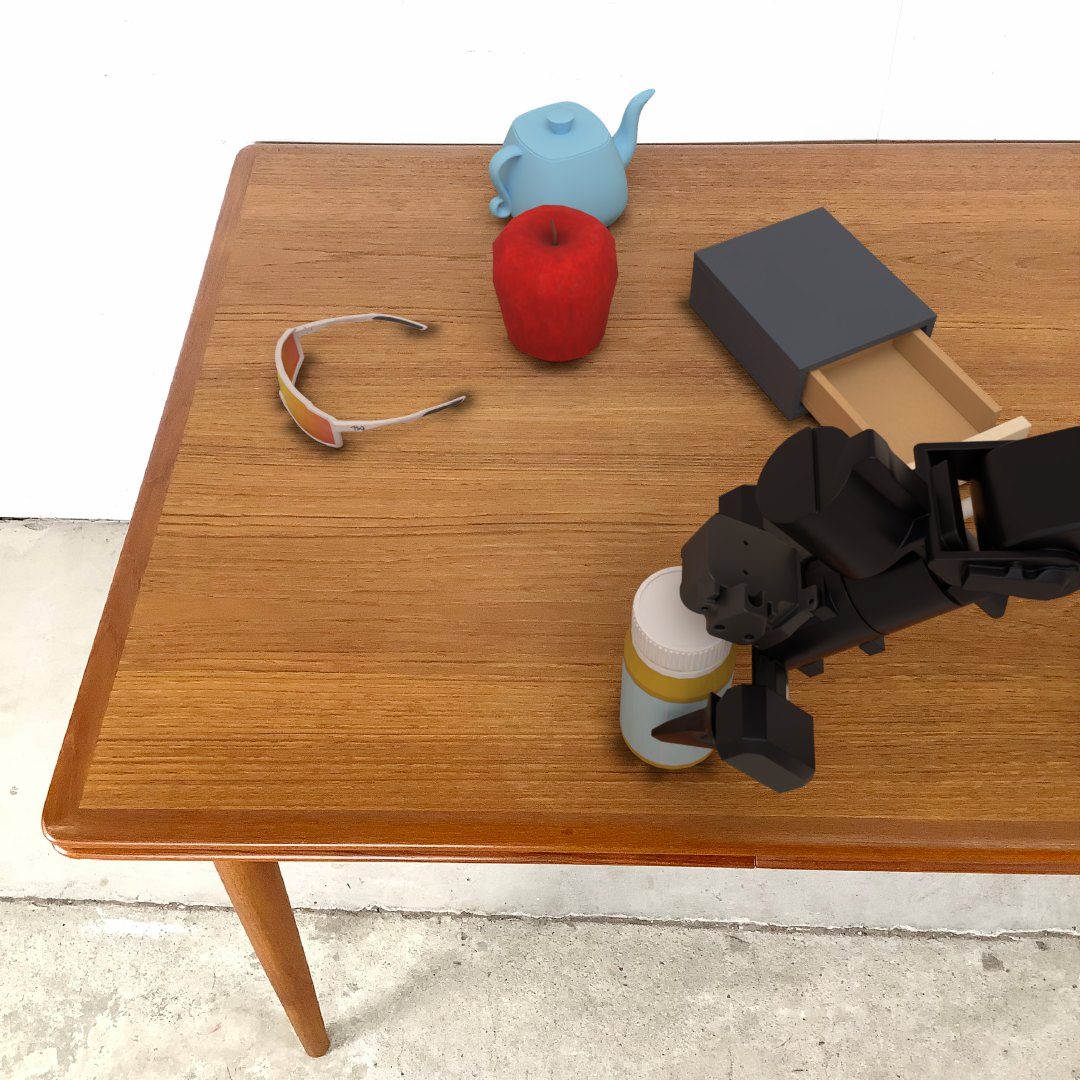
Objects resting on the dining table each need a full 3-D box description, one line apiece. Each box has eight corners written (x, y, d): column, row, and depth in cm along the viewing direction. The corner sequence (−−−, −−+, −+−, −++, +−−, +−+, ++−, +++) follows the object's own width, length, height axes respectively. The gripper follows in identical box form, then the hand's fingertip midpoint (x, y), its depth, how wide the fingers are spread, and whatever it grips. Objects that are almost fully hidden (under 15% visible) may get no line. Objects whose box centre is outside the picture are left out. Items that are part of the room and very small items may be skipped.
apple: (499, 387, 98) (488, 264, 88) (498, 309, 105) (487, 184, 94) (619, 382, 98) (623, 258, 87) (611, 303, 104) (614, 178, 94)
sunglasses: (260, 363, 101) (255, 319, 97) (419, 332, 106) (420, 289, 102) (304, 472, 93) (301, 428, 89) (473, 432, 98) (477, 390, 94)
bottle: (615, 767, 76) (620, 652, 64) (624, 678, 80) (631, 554, 68) (718, 779, 76) (743, 664, 64) (722, 688, 80) (746, 565, 68)
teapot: (689, 115, 104) (514, 173, 99) (681, 212, 112) (520, 269, 108) (621, 52, 111) (455, 104, 106) (618, 148, 119) (465, 199, 115)
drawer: (1051, 497, 88) (1070, 461, 84) (922, 555, 85) (936, 520, 82) (897, 343, 99) (908, 305, 95) (778, 390, 96) (785, 353, 92)
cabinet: (920, 368, 98) (938, 315, 93) (788, 421, 95) (799, 369, 90) (812, 259, 107) (823, 206, 102) (688, 304, 104) (693, 251, 99)
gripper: (776, 387, 64) (582, 497, 74) (784, 671, 53) (554, 756, 63) (886, 485, 70) (693, 575, 79) (915, 760, 58) (685, 825, 68)
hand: (658, 671), depth 72 cm, fingers open, 9 cm apart
